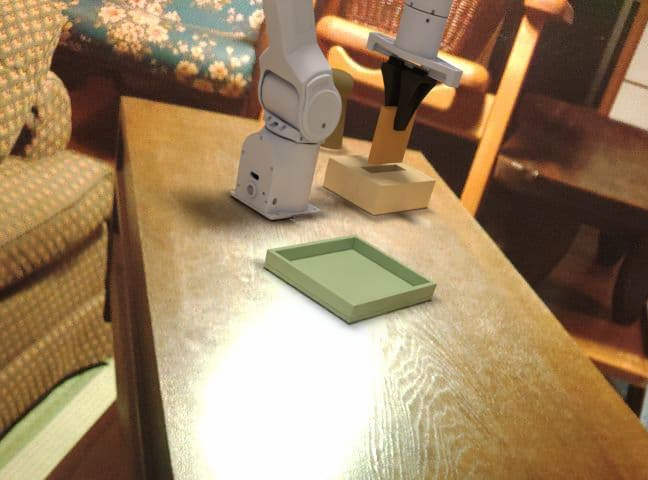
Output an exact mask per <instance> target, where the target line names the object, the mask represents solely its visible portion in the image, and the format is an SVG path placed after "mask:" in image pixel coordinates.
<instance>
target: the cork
mask: <svg viewBox="0 0 648 480" xmlns="http://www.w3.org/2000/svg"><path fill="white" fill-rule="evenodd" d="M331 69H332V77H333V82H334V85H335V88H336V89H337V91H338V92H339V94H340V97H341V102H342V111H341V116H340V120H339V122H338V124H337V126H336V128H335V130H334V131H333V132H332V133H331V135H330V136H328V137H327V138H326V139H325V143H321V144H320V148H323V149H327V150H328V149H329V150H341V149H342V148H343V138H344V131H345V130H344V129H345V122H346V121H345V120H346V113H347V102H348V98H349V97H350V96H351V95H352V92H353V90H354V86H355V84H354V83H355V80H354V76H353V75H352V74H351V73H349V72H347V71H346V70H344V69H340V68H336V67H331Z"/></svg>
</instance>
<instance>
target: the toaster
mask: <svg viewBox="0 0 648 480" xmlns="http://www.w3.org/2000/svg"><path fill="white" fill-rule="evenodd" d="M369 154H370V153H368V154H353V155H352V154H351V155H339V156H338V155H335V156H329V157H328V159H327V160H328V161H327V165H326V168H325V173H324V179H323V182H322V187H323V188H325V189H326V190H328V191H330V192H332V193H333V194H335V195H336V196H339V197H340V198H341V199H344V200H345V201H347V202H349V203H351V204H352V205H354V206H356V207H357V208H359V209H361V210H363V211H364V212H366V213H368V214H370V215H371V216H373V217H375V216H382V215H388V214H394V213H402V212H409V211H416V210H423V209H427V208H428V207H429V203H430V201H431V198H432V194H433V191H434V189H435V188H434V187H435V186H436V185H435V184H436V181H437V179H435V178H434V177H431V176H429V175H427V174H426V173H424V172H422V171H420V170H418V169H416V168H414V167H412V166H411V165H408V164H406V163H405V162H404V161H403V162H402V163H390V164H377V165H373V164H371V163H369V162H368V157H369Z"/></svg>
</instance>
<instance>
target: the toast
mask: <svg viewBox="0 0 648 480" xmlns="http://www.w3.org/2000/svg"><path fill="white" fill-rule="evenodd" d="M396 111H397V107H396V106H385V105H382V106H381V107H380V111H379V114H378V118H377V123H376V126H375V130H374V133H373V139H372V142H371V146H370V150H369V153H368V154H369V157H368V162H369V163H371V164H373V165H377V164H390V163H402V162H403V163H404V158H405V154H406V151H407V148H408V145H409V141H410V136H411V133H412V130H413V126H414V123H415V119H416V116H417V113H418V109H417V110H416V111H415V113H414V115H413V116H412V118H411V120H410V122H409V124H408V126H407V128H406V130H405V131H396V130H394V129H393V125H394V119H395V115H396Z"/></svg>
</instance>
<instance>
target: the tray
mask: <svg viewBox="0 0 648 480" xmlns="http://www.w3.org/2000/svg"><path fill="white" fill-rule="evenodd" d="M263 267H264V268H265V269H266V270H268V271H270V272H271V273H272V274H275V275H276V277H279V278H280V279H281V280H283V281H284V282H286V283H288V284H289V285H291V286H293V287H294V288H295V289H297V290H298V291H300V292H301V293H303V294H305V295H306V296H307V297H309V298H310V299H312V300H314V301H315V302H317V303H318V304H320V306H323V307H324V308H326V309H327V310H329V311H330V312H332V313H333V314H335V316H337V317H339V318H341V319H342V320H343V321H345V322H346V323H348V324H351V323H355V322H358V321H361V320H365V319H368V318H372V317H375V316H379V315H382V314H385V313H389V312H393V311H395V310H396V311H397V310H399V309H402V308H406V307H410V306H413V305H416V304H420V303H423V302H428V301H430V300H432V299H433V297H434V293H435V290H436V288H437V286H438V283H437V282H436V281H434V280H433V279H430V278H429V277H427V276H425V275H424V274H422V273H420V272H419V271H417V270H415V268H412V267H411V266H409V265H408V264H406V263H404V262H402V261H400V260H399V259H397V258H395V257H394V256H392V255H390V254H388V253H387V252H386V251H383V250H382V249H380V248H379V247H377V246H375V245H374V244H372V243H370V242H369V241H367V240H365V239H363V237H361V236H359V235H357V234H350V235H344V236H340V237H332V238H327V239H321V240H315V241H309V242H303V243H297V244H292V245H285V246H280V247H273V248H268V249H266V253H265V259H264V265H263Z"/></svg>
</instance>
